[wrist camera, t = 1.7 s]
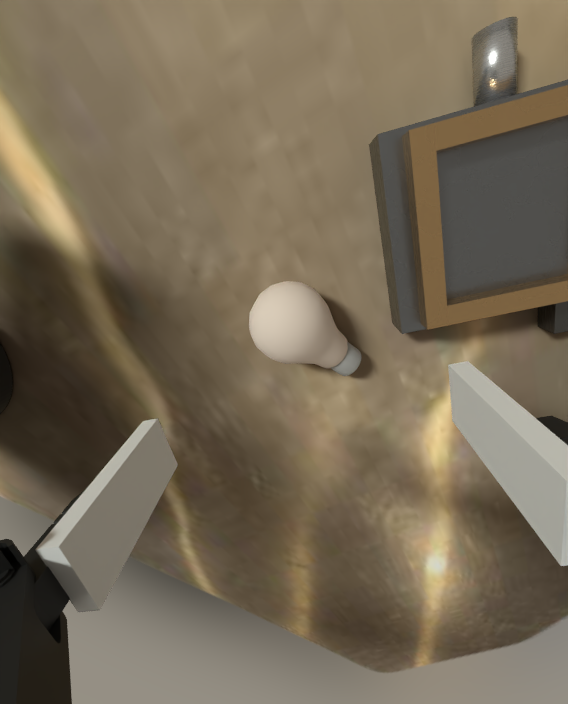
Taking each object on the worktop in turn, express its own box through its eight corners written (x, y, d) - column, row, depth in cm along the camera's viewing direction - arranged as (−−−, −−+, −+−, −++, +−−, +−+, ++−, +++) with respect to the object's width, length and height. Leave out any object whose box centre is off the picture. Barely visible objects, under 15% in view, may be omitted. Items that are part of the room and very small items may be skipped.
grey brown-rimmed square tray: (396, 354, 30) (411, 375, 26) (360, 80, 23) (373, 47, 19) (588, 316, 28) (639, 332, 24) (614, 0, 21) (694, -56, 17)
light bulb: (395, 369, 26) (286, 292, 21) (334, 413, 29) (228, 355, 24) (374, 321, 31) (282, 250, 26) (324, 362, 34) (235, 306, 29)
